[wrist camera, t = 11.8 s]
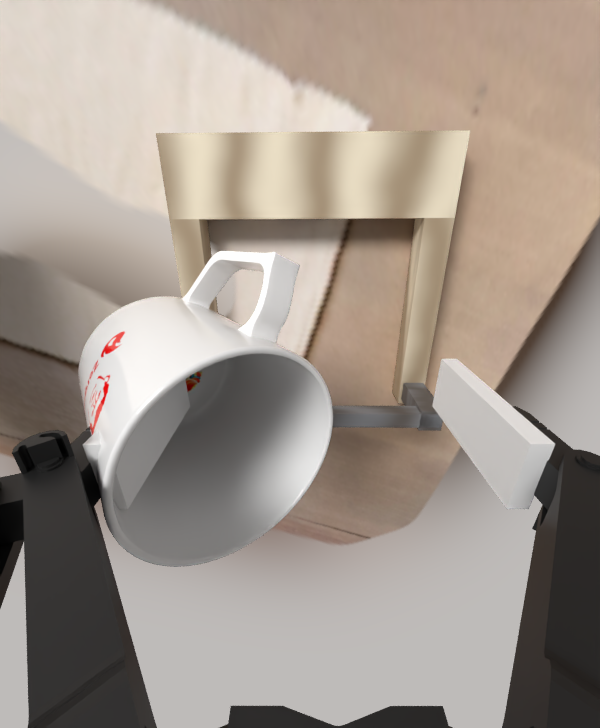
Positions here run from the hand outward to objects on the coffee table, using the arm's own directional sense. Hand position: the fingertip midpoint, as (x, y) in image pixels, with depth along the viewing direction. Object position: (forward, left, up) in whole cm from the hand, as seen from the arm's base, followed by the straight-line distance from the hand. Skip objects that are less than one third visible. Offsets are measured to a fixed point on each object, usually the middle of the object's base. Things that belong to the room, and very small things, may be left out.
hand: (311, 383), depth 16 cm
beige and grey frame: (0, +2, -17) cm, 17 cm away
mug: (-9, +1, -4) cm, 10 cm away
